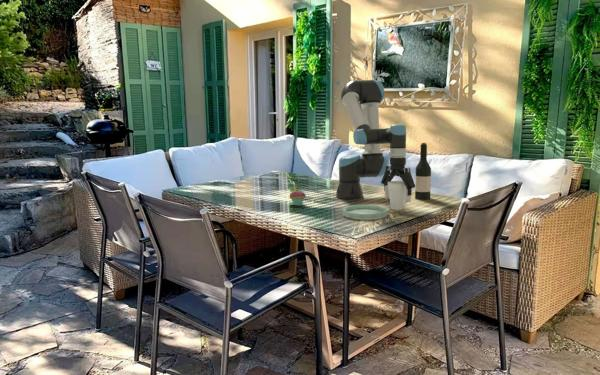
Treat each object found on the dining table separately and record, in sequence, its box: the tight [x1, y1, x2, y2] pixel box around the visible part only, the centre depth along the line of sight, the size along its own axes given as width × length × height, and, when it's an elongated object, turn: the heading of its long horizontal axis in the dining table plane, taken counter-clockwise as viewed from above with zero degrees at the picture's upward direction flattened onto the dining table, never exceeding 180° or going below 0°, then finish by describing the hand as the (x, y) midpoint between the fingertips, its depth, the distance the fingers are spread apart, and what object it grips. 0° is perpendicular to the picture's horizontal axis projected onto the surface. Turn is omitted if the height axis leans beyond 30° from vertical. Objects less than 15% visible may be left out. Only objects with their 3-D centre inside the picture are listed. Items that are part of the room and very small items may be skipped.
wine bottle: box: [414, 142, 432, 201], centre depth 242 cm, size 8×8×30 cm
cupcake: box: [289, 182, 307, 206], centre depth 235 cm, size 9×8×12 cm
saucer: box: [342, 204, 389, 221], centre depth 209 cm, size 20×20×2 cm
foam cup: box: [388, 180, 407, 211], centre depth 220 cm, size 10×9×13 cm
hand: (397, 200), depth 220 cm, fingers open, 13 cm apart
